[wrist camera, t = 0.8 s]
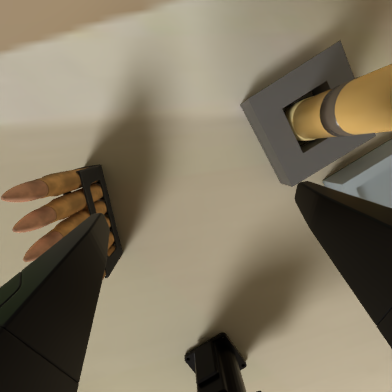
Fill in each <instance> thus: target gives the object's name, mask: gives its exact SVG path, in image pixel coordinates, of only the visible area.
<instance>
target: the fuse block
mask: <svg viewBox="0 0 392 392" xmlns="http://www.w3.org/2000/svg"><path fill="white" fill-rule="evenodd" d="M352 79H354V76H353V73H352V71H351V68H350V65H349V63H348V60H347V57H346V54H345V52H344V49H343V46H342V44H341V41H338V42H337V43H335V44H334V45H332V46H331V47H329V48H327V49H326V50H324V51H323V52H321V53H319V54H318V55H316V56H315V57H313V58H312V59H310V60H308V61H307V62H305V63H304V64H302V65H301V66H299V67H297V68H296V69H294V70H293V71H291V72H290V73H288V74H286V75H285V76H283V77H282V78H280V79H279V80H277V81H275V82H274V83H272V84H271V85H269V86H268V87H266V88H264V89H263V90H261V91H260V92H258V93H257V94H255V95H253V96H252V97H250V98H249V99H247V100H246V101H245V102H243V103H242V104H241V107H242V109H243V111H244V113H245V115H246V117H247V119H248V121H249V123H250V125H251V127H252V128H253V130H254V132H255V134H256V136H257V138H258V140H259V142H260V144H261V146H262V148H263V150H264V152H265V154H266V156H267V158H268V159H269V161H270V163H271V165H272V167H273V169H274V171H275V173H276V175H277V177H278V179H279V181H280V183H282V184H285V185H288V186H291V187H293V186H294V185H296V184H297V183H299V182H301V181H302V180H304V179H306V178H307V177H309V176H311V175H312V174H314V173H316V172H317V171H319V170H320V169H322V168H324V167H325V166H327V165H329V164H330V163H332V162H334V161H335V160H337V159H338V158H340V157H342V156H343V155H345V154H347V153H348V152H350V151H352V150H353V149H355V148H357V147H358V146H360V145H361V144H363V143H365V142H366V141H368V140H370V139H371V138H373V137H375V136H376V135H375V133H368V134H362V135H354V136H344V137H328V138H318V139H314V140H311V141H309V142H308V143H306V144H305V145H303V146H301V147H300V146H299V144H298V142H297V139H296V137H295V135H294V133H293V131H292V129H291V127H290V125H289V122H288V120H287V118H286V116H285V114H284V112H283V110H282V108H284V107H286V106H287V105H289V104H290V103H292V102H294V101H295V100H297V99H298V98H300V97H302V96H303V95H305V94H306V93H308V92H310V91H311V90H312V92H313V95H314V96H315V95H318V94H320V93H323V92H325V91H327V90H330V89H332V88H334V87H336V86H338V85H340V84H343V83H345V82H347V81H350V80H352Z"/></svg>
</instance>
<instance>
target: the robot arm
mask: <svg viewBox="0 0 392 392" xmlns="http://www.w3.org/2000/svg"><path fill="white" fill-rule="evenodd" d="M295 202H296V204H297V206H298V207H299V209H300V211H301V213H302V215H303V217H304V219H305V221H306V223H307V224H308V226H309V228H310V229H311V231H312V232H313V234H314V235H315V237H316V238H317V240H318V241H319V243H320V244H321V246H322V247H323V249H324V250H325V251H326V253H327V254H328V256H329V257H330V259H331V260H332V262H333V263H334V265H335V266H336V268H337V269H338V270H339V272H340V273H341V275H342V276H343V278H344V279H345V281H346V282H347V284H348V285H349V287H350V288H351V289H352V291H353V292H354V294H355V295H356V297H357V298H358V300H359V301H360V303H361V304H362V306H363V307H364V308H365V310H366V311H367V313H368V314H369V316H370V317H371V319H372V320H373V322H374V323H375V324H376V325H377V328H378V329H379V331H380V332H381V334H382V335H383V336H384V338H385V339H386V341H387V342H388V344H389V345H390V347H391V348H392V208H390V207H386V206H383V205H380V204H377V203H374V202H371V201H368V200H365V199H362V198H359V197H355V196H352V195H349V194H346V193H343V192H340V191H337V190H334V189H331V188H328V187H325V186H321V185H318V184H315V183H312V182H309V181H305V182H300V183H298V185H297V189H296V194H295ZM109 233H110V228H109V225H108V223H107V221H106V218H105V216H104V214H103V213H95V214H92V215H91V216H89V217H88V218H87V219H86V220H84V221H83V222H82V223H81V224H79V225H78V226H77V227H76V228H74V229H73V230H72V231H71V232H69V233H68V234H67V235H66V236H64V237H63V238H62V239H61V240H59V241H58V242H57V243H56V244H54V245H53V246H52V247H51V248H49V249H48V250H47V251H46V252H44V253H43V254H42V255H41V256H39V257H38V258H37V259H36V260H34V261H33V262H32V263H31V264H29V265H28V266H27V267H26V268H24V269H23V270H22V271H21V272H19V273H18V274H17V275H15V276H14V277H13V278H12V279H11V280H9V281H8V282H7V283H5V284H4V285H3V286H2V287H0V392H77V389H78V383H79V380H80V375H81V371H82V367H83V362H84V358H85V353H86V349H87V345H88V340H89V336H90V332H91V327H92V323H93V319H94V314H95V310H96V305H97V301H98V297H99V292H100V288H101V284H102V279H103V275H104V271H105V266H106V261H107V253H108V243H109ZM222 337H224V338H222ZM185 361H186V363H187V364H188V365H189V366H190V368H191V369H192V370H193V371H194V372H195V374H196V383H197V392H246V389H245V386H244V382H243V379H242V375H241V372H240V370H242V369H244V368H245V367H246V361H245V360H244V358H243V357H242V356H241V354H240V353H239V352H238V350H237V349H236V347H235V346H234V345H233V343H232V342H231V340H230V339H229V338H228V336H227V335H226V334H225V333H221V334H219V335H218V336H216V337H214V338H213V339H211V340H209V341H207V342H206V343H204V344H202V345H201V346H199V347H197V348H196V349H194V350H192V351H190V352H189V353H187V354H186V355H185ZM257 392H261V391H257Z"/></svg>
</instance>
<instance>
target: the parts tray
mask: <svg viewBox="0 0 392 392" xmlns="http://www.w3.org/2000/svg"><path fill="white" fill-rule="evenodd" d="M323 183H324V185H325V187H328V188H331V189H334V190H337V191H340V192H343V193H346V194H349V195H352V196H355V197H359V198H362V199H365V200H368V201H371V202H374V203H377V204H380V205H383V206H386V207H390V208H392V139H391V140H389V141H387V142H386V143H384V144H382V145H381V146H379V147H377V148H376V149H374V150H373V151H371V152H369V153H368V154H366V155H364V156H363V157H361V158H359V159H358V160H356V161H354V162H353V163H351V164H349V165H348V166H346V167H345V168H343V169H341V170H340V171H338V172H336V173H335V174H333V175H331V176H330V177H328V178H326V179H325V180H323Z"/></svg>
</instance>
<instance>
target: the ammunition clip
mask: <svg viewBox="0 0 392 392" xmlns="http://www.w3.org/2000/svg"><path fill="white" fill-rule="evenodd" d="M81 187H83V188H82V189H79V190H76V191H74V192H71V191H72V190H75V189H78V188H81ZM61 194H63V196H61V197H58V198H56V199H53V200H52V201H51V202H49V203H48V204H46V205H44V206H42V207H41V208H39V209H36V210H34V211H32V212H30V213H29V214H27V215H26V216H24V217H23V218H22V219H21V220H19V221H18V222H17V223H16V224H15V226H14V227H13V232H28V231H32V230H36V229H39V228H41V227H44V226H46V225H48V224H50V223H53V222H55V221H57V220H61V219H64V218H66V219H65V220H63V221H61V222H60V223H59V224H58V225H56V227H55V228H54V229H53V230H51V231H50V232H48V233H47V234H46V235H44V236H43V237H42V238H40V239H39V240H38V241H37V242H36V243H34V244H33V245H32V246H31V247H30V249H29V250H28V251H27V252H26V254H25V256H24V258H23V260H24V261H25V262H29V261H34V260H36V259H37V258H38V257H39V256H41V255H42V254H43V253H44V252H46V251H47V250H48V249H49V248H51V247H52V246H53V245H54V244H56V243H57V242H58V241H59V240H61V239H62V238H63V237H64V236H66V235H67V234H68V233H69V232H71V231H72V230H73V229H74V228H76V227H77V226H78V225H79V224H81V223H82V222H83V221H84V220H86V219H87V218H88V217H89V216H91V215H92V214H95V213H103V214H104V216H105V218H106V221H107V223H108V225H109V228H110V233H109V243H108V253H107V261H106V266H105V271H104V275H103V279H104V277H105V278H108V277H109V275H110V273H111V272H112V270H113V269H114V267H115V265H116V264H117V262H118V260H119V259H120V257H121V256H122V253H123V252H122V248H121V244H120V240H119V236H118V232H117V228H116V224H115V220H114V216H113V212H112V208H111V204H110V199H109V195H108V191H107V187H106V183H105V179H104V175H103V171H102V167H101V165H93V166H87V167H82V168H78V169H74V170H70V171H65V172H59V173H54V174H49V175H46V176H44V177H42V178H40V179H36V180H33V181H29V182H26V183H23V184H20V185H17V186H15V187H13V188H11V189H9V190H8V191H6V192H5V193H4V194H3V195H2V196H1V199H2V200H4V201H7V202H26V201H32V200H36V199H39V198H45V197H48V196H58V195H61ZM79 210H80V211H79ZM69 216H70V217H69ZM67 217H68V218H67ZM105 275H106V276H105ZM103 279H102V280H103Z"/></svg>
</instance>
